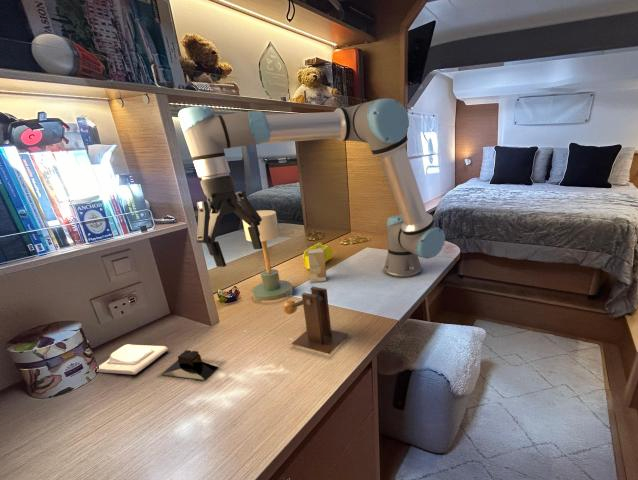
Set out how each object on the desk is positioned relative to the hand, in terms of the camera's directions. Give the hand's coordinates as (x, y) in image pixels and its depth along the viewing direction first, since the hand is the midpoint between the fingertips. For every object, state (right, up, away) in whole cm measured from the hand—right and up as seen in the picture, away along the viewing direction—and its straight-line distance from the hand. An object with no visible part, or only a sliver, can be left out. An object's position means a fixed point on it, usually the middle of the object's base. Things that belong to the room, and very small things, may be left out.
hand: (241, 257), depth 92 cm
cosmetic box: (+14, -6, +43) cm, 46 cm away
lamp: (-1, -12, +32) cm, 34 cm away
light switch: (-27, -28, -3) cm, 39 cm away
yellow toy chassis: (+12, +1, +60) cm, 61 cm away
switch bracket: (+22, -24, +2) cm, 32 cm away
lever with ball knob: (+18, -14, -1) cm, 22 cm away
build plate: (-10, -29, -7) cm, 31 cm away
